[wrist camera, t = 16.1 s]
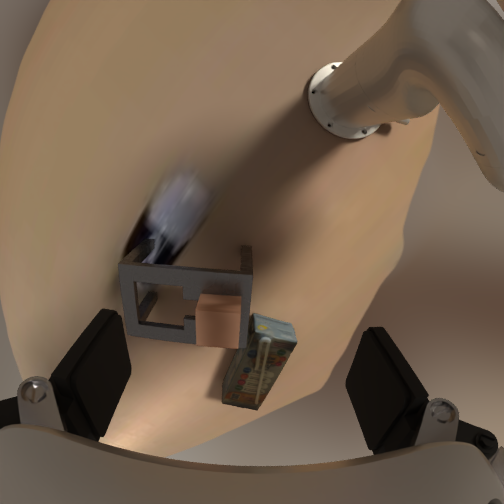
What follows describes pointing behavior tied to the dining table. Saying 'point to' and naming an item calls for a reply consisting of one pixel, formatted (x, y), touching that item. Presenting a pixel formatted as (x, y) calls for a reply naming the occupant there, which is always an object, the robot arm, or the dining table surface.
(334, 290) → the dining table surface
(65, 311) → the dining table surface
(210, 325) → the t peg
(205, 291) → the keyhole rack
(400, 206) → the dining table surface
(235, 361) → the beverage carton
